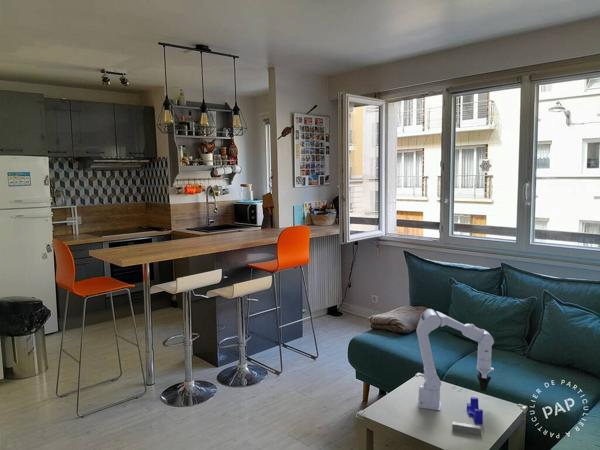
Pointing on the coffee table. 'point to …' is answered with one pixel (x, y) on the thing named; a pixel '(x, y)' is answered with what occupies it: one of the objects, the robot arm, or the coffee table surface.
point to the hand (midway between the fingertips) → (483, 386)
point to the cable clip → (475, 410)
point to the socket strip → (466, 428)
